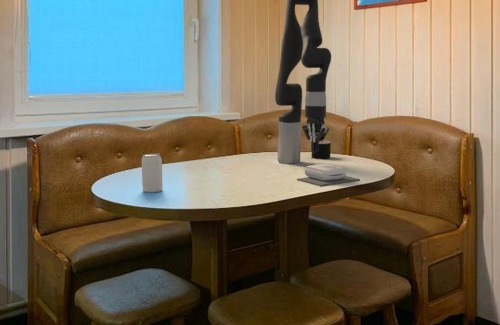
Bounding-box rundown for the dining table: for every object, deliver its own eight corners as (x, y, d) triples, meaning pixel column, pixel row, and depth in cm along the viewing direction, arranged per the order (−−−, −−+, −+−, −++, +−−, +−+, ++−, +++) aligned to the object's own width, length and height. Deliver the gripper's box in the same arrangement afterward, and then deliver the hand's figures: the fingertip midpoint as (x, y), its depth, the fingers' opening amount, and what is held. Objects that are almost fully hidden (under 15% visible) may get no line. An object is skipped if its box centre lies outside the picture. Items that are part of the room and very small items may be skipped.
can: (143, 189, 183) (142, 153, 181) (163, 188, 184) (162, 152, 182) (141, 193, 177) (140, 156, 175) (161, 192, 177) (160, 155, 175)
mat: (297, 180, 197) (297, 178, 197) (335, 174, 206) (335, 173, 206) (320, 186, 186) (320, 184, 186) (359, 180, 195) (359, 179, 195)
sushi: (326, 159, 241) (326, 141, 240) (308, 158, 246) (308, 140, 244) (333, 157, 248) (333, 139, 247) (316, 155, 252) (316, 138, 251)
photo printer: (326, 162, 204) (349, 167, 194) (325, 174, 205) (348, 179, 195) (304, 165, 199) (326, 170, 188) (303, 176, 199) (326, 182, 189)
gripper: (296, 104, 201) (295, 151, 204) (319, 105, 190) (318, 155, 193) (312, 103, 205) (311, 149, 208) (335, 104, 194) (334, 153, 197)
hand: (315, 152), depth 200 cm, fingers closed
